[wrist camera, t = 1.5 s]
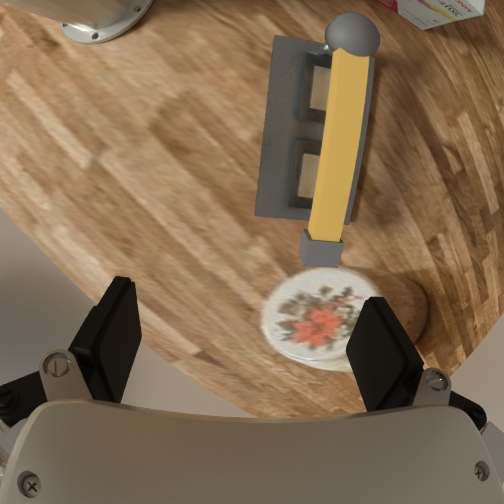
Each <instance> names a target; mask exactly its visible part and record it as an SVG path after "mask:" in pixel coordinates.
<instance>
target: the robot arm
mask: <svg viewBox="0 0 504 504" xmlns="http://www.w3.org/2000/svg"><path fill="white" fill-rule="evenodd" d="M152 2H153V0H0V4H1V5H5V6H9V7H13V8H17V9H20V10H24V11H27V12H31V13H34V14H37V15H41V16H44V17H47V18H50V19H53V20H56V21H58V22H59V24H60V27H61V30H62V32H63V33H64V35H65V36H66V37H68V38H69V39H70V40H72V41H75V42H77V43H81V44H98V43H102V42H105V41H109V40H111V39H113V38H115V37H117V36H119V35H121V34H122V33H124V32H125V31H127V30H128V29H130V28H131V27H132V26H133V25H135V24H136V23H137V22H138V21H139V20H140V19H141V18H142V17H143V16H144V14H145V13H146V12H147V10H148V9H149V8H150V6H151V4H152ZM140 9H141V10H140ZM139 10H140V11H139ZM138 11H139V12H138ZM97 37H98V38H97ZM141 337H142V332H141V326H140V319H139V312H138V304H137V296H136V288H135V283H134V282H131V279H130V278H129V277H120V276H116V277H115V278H114V279H113V281H112V283H111V284H110V286H109V287H108V289H107V290H106V292H105V294H104V295H103V297H102V299H101V300H100V302H99V303H98V305H97V306H94V307H93V308H92V309H91V311H90V312H89V314H88V316H87V317H86V319H85V321H84V322H83V324H82V326H81V327H80V329H79V331H78V333H77V334H76V336H75V338H74V340H73V342H72V343H71V345H70V347H69V349H68V351H67V350H64V349H56V350H52V351H50V352H48V353H46V354H45V355H44V356H43V357H42V359H41V360H40V363H39V371H37V372H34V373H32V374H29V375H27V376H24V377H22V378H19V379H17V380H14V381H12V382H9V383H6V384H4V385H2V386H0V504H504V491H503V488H502V484H503V482H504V433H503V432H502V431H501V430H499V429H498V428H497V427H496V426H495V425H494V424H493V423H491V422H490V421H489V422H488V423H487V417H486V413H485V411H484V410H483V408H482V407H481V406H480V405H478V404H476V403H474V402H473V401H471V400H469V399H467V398H465V397H463V396H461V395H459V394H457V393H455V392H453V391H451V381H450V379H449V377H448V376H447V374H445V373H444V372H443V371H441V370H440V369H437V368H427V369H426V370H424V369H423V365H424V362H423V360H422V358H421V357H420V355H419V353H418V352H417V350H416V348H415V346H414V345H413V343H412V341H411V340H410V338H409V336H408V335H407V333H406V332H405V330H404V328H403V327H402V325H401V323H400V322H399V320H398V319H397V317H396V315H395V314H394V312H393V311H392V309H391V308H390V306H389V305H388V303H387V301H386V300H385V299H384V297H370V298H369V299H368V300H366V301H365V302H364V305H363V307H362V310H361V312H360V315H359V317H358V320H357V322H356V325H355V327H354V330H353V332H352V334H351V337H350V339H349V341H348V344H347V346H346V354H347V357H348V359H349V362H350V365H351V367H352V370H353V373H354V376H355V378H356V381H357V384H358V387H359V390H360V393H361V395H362V398H363V401H364V404H365V407H366V410H367V412H363V413H355V414H346V415H335V416H321V417H303V418H240V417H221V416H206V415H196V414H186V413H178V412H170V411H163V410H156V409H149V408H143V407H136V406H131V405H126V404H120V403H121V400H122V396H123V393H124V390H125V387H126V383H127V380H128V377H129V374H130V371H131V368H132V365H133V362H134V359H135V356H136V353H137V350H138V348H139V345H140V342H141Z"/></svg>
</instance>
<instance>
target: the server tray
mask: <svg viewBox="0 0 504 504" xmlns="http://www.w3.org/2000/svg"><path fill="white" fill-rule="evenodd" d="M332 58H333V52H332V51H331V50H330V49H329V47H328V45H327V43H326V42H325V43H319V42H314V41H309V40H303V39H298V38H292V37H285V36H278V35H275V36H274V41H273V50H272V59H271V68H270V77H269V87H268V96H267V105H266V114H265V123H264V132H263V141H262V150H261V159H260V169H259V178H258V187H257V196H256V205H255V216H261V217H273V218H284V219H295V220H305V221H310V216H311V210H312V204H313V198H314V193H315V187H316V180H317V174H318V168H319V161H320V155H321V148H322V141H323V134H324V127H325V119H326V111H327V103H328V95H329V87H330V78H331V68H332ZM374 66H375V57H372V56H369V66H368V77H367V86H366V95H365V103H364V111H363V119H362V126H361V132H360V139H359V145H358V151H357V157H356V163H355V169H354V174H353V180H352V185H351V190H350V195H349V200H348V205H347V210H346V214H345V219H344V223H343V224H344V225H349V222H350V217H351V213H352V208H353V204H354V199H355V194H356V189H357V184H358V179H359V174H360V168H361V163H362V157H363V151H364V145H365V139H366V132H367V125H368V118H369V111H370V103H371V95H372V86H373V76H374Z"/></svg>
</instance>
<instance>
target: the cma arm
mask: <svg viewBox="0 0 504 504" xmlns="http://www.w3.org/2000/svg"><path fill="white" fill-rule="evenodd" d="M325 40H326V43H327V45H328V47H329V49H330V50H331V51H332V52H333V58H332V68H331V78H330V87H329V95H328V103H327V111H326V119H325V127H324V134H323V141H322V148H321V155H320V161H319V168H318V174H317V180H316V187H315V193H314V198H313V204H312V210H311V216H310V221H309V227H308V230H307V229H303V232H302V238H301V243H300V249H299V255H300V258H301V260H302V263H303V266H316V267H332V268H338V266H339V262H340V258H341V254H342V250H343V246H344V242H343V241H342V240H341V238H340V237H341V232H342V228H343V223H344V219H345V214H346V210H347V205H348V200H349V195H350V190H351V185H352V180H353V174H354V169H355V163H356V157H357V151H358V145H359V139H360V132H361V126H362V119H363V111H364V103H365V95H366V86H367V77H368V66H369V55H372V54H373V53H375V52H376V51H377V49H378V47H379V45H380V35H379V32H378V30H377V28H376V26H375V25H374V24H373V22H372V21H370V20H369V19H368V18H367V17H365V16H363V15H361V14H358V13H353V12H348V13H343V14H341V15H339V16H338V17H337V18H336V19H335V20H334V21H333V22H331V23H330V24H329V25H328V27H327V28H326V31H325Z"/></svg>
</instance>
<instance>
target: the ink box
mask: <svg viewBox="0 0 504 504" xmlns="http://www.w3.org/2000/svg"><path fill="white" fill-rule="evenodd" d="M376 1H378V2H380V3H381V4H383V5H385V6H386V7H388V8H390V9H391V10H393V11H395V12H396V13H398V14H399V15H401V16H402V17H404V18H405V19H407V20H408V21H410V22H411V23H413V24H414V25H416V26H417V27H419V28H420V29H421V30H426V29H429V28H433V27H436V26H440V25H443V24H447V23H451V22H455V21H459V20H463V19H468V18H472V17H477V16H482V15H484V9H485V0H376Z"/></svg>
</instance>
